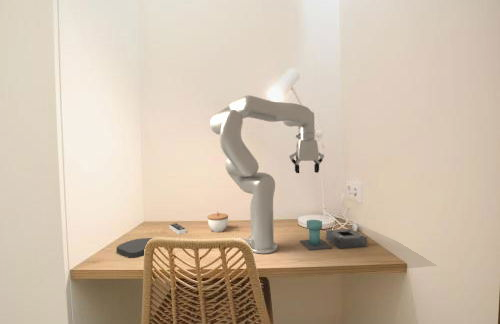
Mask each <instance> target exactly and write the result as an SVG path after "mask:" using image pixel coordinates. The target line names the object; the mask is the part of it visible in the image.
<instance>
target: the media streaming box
mask: <svg viewBox="0 0 500 324" xmlns="http://www.w3.org/2000/svg"><path fill="white" fill-rule="evenodd" d="M152 238H153V237H145V238H143V237H141V238H136V239H131V240H129V241H125V242H123V243H121V244H119V245H117V246H116V253H117V254H118V255H121V256H123V257H126V258H130V259H132V258H138V257H139V258H140V257H143V256H144V249H145V246H146V244H147V242H148V241H149V240H150V239H152Z"/></svg>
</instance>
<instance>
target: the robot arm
mask: <svg viewBox="0 0 500 324" xmlns="http://www.w3.org/2000/svg"><path fill="white" fill-rule="evenodd" d="M246 118H250V119H255V120H256V119H257V120H260V121H264V122H265V121H266V122H270V123H271V122H273V123H274V122H283V125H285V126H287V127H290V128H291V127H298V134H296V135H295V139H297V141H296V148H295V152H294V153H292V154H289V159H290V161H291V163H293V165H294V172H295V173H296V174H300V162H301V161H302V162H303V161H305V162H306V161H311V162H312V161H313V162H314V165H313V166H314V173H317V174H319V173H320V172H319V171H320V164H321V163H322V162H323V160H324V158H325V155H324V154H322V153H321V152H319V148H318V147H319V146H318V142H317V141H318V140H317V139H315V133H316V131H315V112H314V111H311V109H310V108H309V107H307V106H306V105H302V104H300V103H292V102H281V101H271V100H269V99H264V98H262V97H257V96H254V95H244V96H241V97H239V98H237V99H235V100H233V101H232V102H230V103H229V104H228V105H226V106H225V107H224V108H222V109H221V110H220V111H218V112H217V113H215V114H214V115H213V116H212V117H211V119H210V121H209V128H210V130H211V131H212V132H213V133H214V134H216V135H219V138H220V139H219V140H220V141H219V142H220V148H221V149H222V152H223V154H224V155H225V156H226V160H225V163H224V165H225V170H226V172H227V174H228V175H229V177H230V178H231V179H232V180H233V181H234V183H235V184H236V185H237V186H238V187H239V188H240V190H242V191H243V192H244V193H247V194H250V195H252V198H251V200H250V208H249V211H250V235H249V237H247V238H242V239H243V240H245V241H246V242H247V243H248V244H249V245H250V246H251V248H252V250H253V252H252V253H253V254H254V253H255V254H270V253H274V252H275V251H277V250H278V243H276V242H275V240H274V239H275V238H274V237H275V236H274V235H275V234H274V233H275V231H274V230H275V229H274V198H275V197H274V196H275V190H276V181H275V179H274V177H273V176H272V175H271V174H269V173H266V172H259V162H258V161H257V159H256V157H255V156H254V155H253V154H252V152H251V151H250V150H249V148H248V146H246V144H245V143H244V140H243V139H242V128H243V123H244V121H243V119H246Z"/></svg>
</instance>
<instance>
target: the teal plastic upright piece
mask: <svg viewBox="0 0 500 324" xmlns="http://www.w3.org/2000/svg"><path fill="white" fill-rule="evenodd" d="M306 228H307V229H308V230H309V231H308V234H309V236H308V237H309V238H308V240H309V244H310V245H314V246H317V245H320V239H321V230H323V221H322V220H318V219H307V220H306Z"/></svg>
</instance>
